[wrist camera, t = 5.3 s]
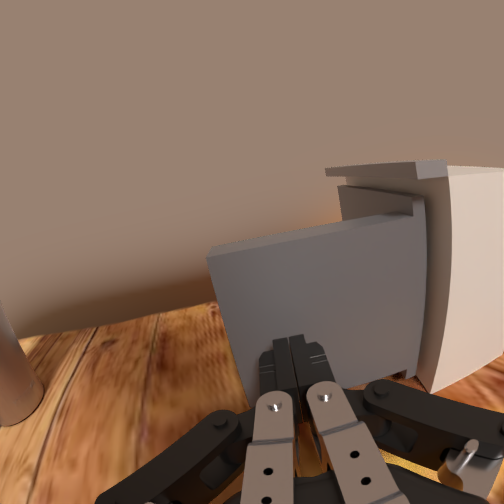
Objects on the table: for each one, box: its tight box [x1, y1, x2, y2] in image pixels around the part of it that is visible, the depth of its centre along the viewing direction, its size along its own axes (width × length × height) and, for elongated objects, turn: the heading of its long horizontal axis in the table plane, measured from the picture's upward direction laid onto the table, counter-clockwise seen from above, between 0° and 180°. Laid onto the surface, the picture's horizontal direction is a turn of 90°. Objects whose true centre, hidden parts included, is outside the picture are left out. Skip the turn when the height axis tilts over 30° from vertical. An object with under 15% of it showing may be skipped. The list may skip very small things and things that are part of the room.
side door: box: [206, 185, 427, 408], centre depth 20 cm, size 11×13×12 cm
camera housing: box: [325, 160, 504, 394], centre depth 20 cm, size 10×18×15 cm, turn 0°
